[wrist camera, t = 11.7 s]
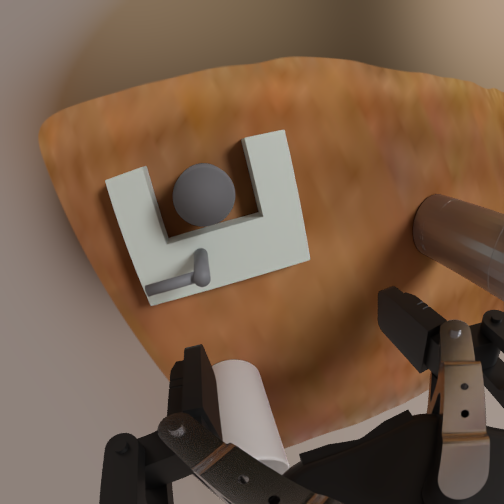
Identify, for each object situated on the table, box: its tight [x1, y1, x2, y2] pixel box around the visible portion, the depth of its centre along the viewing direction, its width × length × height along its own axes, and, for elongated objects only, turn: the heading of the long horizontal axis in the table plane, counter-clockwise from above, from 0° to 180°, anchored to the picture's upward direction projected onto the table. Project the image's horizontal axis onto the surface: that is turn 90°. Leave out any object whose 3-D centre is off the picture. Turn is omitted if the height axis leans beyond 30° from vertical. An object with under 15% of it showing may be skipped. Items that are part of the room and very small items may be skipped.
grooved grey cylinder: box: [173, 163, 235, 227], centre depth 27 cm, size 5×5×6 cm
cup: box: [212, 360, 290, 475], centre depth 31 cm, size 8×8×16 cm
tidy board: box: [105, 130, 310, 306], centre depth 27 cm, size 18×14×8 cm
